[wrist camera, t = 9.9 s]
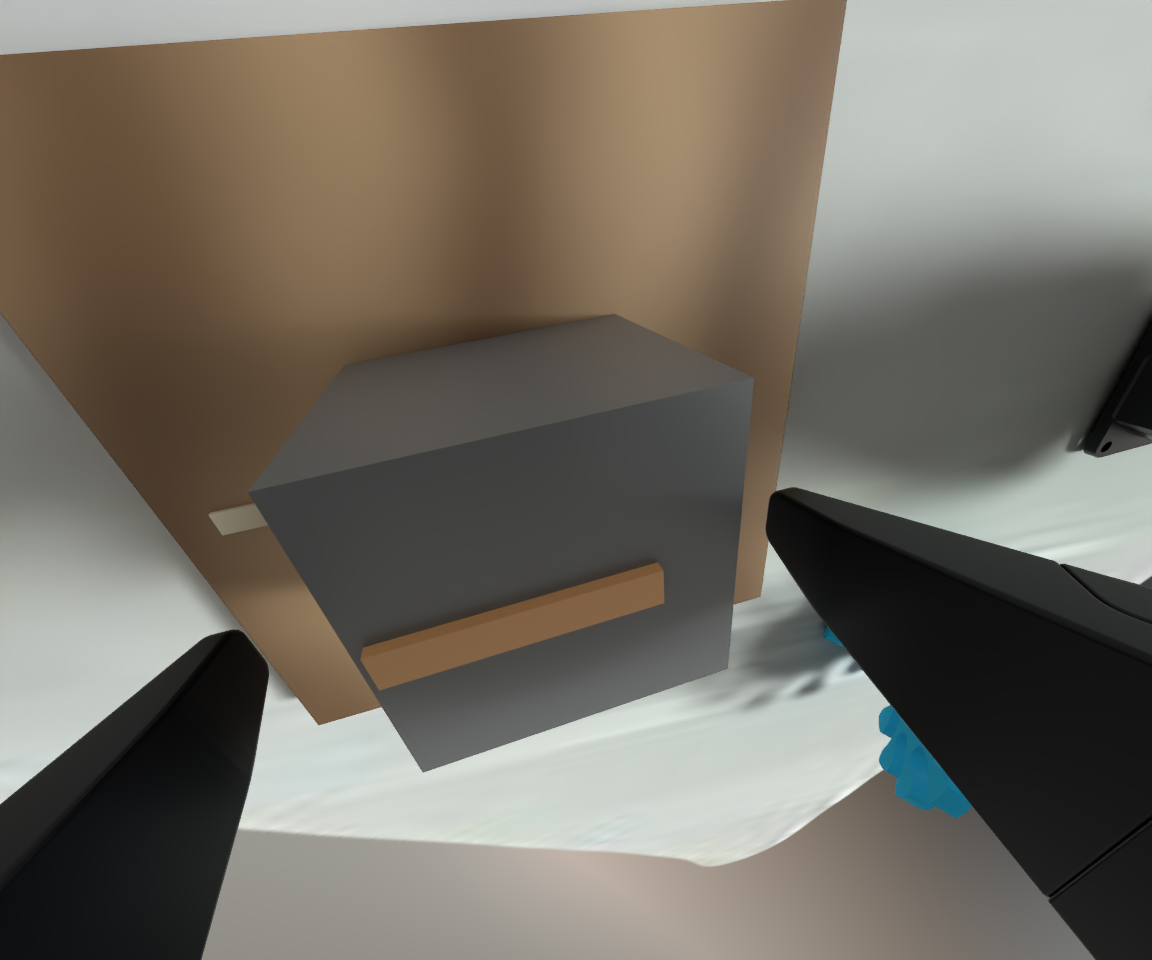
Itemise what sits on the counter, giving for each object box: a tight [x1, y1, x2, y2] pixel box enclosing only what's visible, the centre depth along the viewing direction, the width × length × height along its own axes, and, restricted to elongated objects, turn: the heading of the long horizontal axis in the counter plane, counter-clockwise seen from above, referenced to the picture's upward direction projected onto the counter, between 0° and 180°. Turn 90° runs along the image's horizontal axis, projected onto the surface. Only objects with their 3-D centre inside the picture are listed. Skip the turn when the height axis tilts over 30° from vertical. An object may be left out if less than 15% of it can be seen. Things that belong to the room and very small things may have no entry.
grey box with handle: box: [248, 314, 754, 772], centre depth 9 cm, size 6×6×6 cm
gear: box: [824, 626, 972, 818], centre depth 19 cm, size 11×6×10 cm
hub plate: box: [0, 0, 847, 725], centre depth 10 cm, size 16×16×5 cm
